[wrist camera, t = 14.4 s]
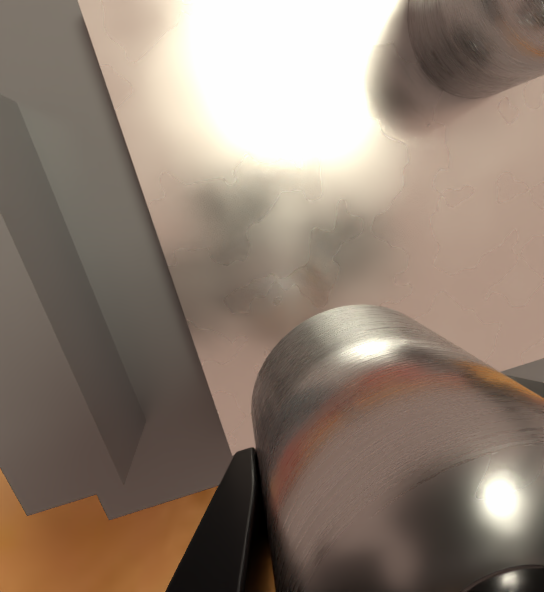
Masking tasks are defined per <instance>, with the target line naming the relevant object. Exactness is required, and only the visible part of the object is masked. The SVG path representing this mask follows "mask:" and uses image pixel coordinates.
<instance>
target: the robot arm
mask: <svg viewBox="0 0 544 592" xmlns="http://www.w3.org/2000/svg"><path fill="white" fill-rule="evenodd" d="M504 375H505V374H504ZM506 376H508V377H509V378H511V379H513V380H514V381H516V382H518V383H519V384H521V385H523V386H524V387H526V388H528V389H529V390H531V391H533V392H534V393H536V394H537V395H539V396H541V397H542V398H544V382H539V381H534V380H529V379H524V378H519V377H514V376H510V375H506ZM165 592H276V591H275V584H274V577H273V569H272V562H271V555H270V548H269V540H268V533H267V526H266V519H265V512H264V504H263V497H262V489H261V482H260V475H259V468H258V461H257V453H256V450H255V448H254V447H250V448H247V449H244V450H240V451H237V452H236V453H235V454H234V456H233V458H232V460H231V462H230V464H229V466H228V468H227V470H226V472H225V474H224V476H223V478H222V480H221V482H220V484H219V486H218V488H217V490H216V492H215V494H214V496H213V498H212V500H211V502H210V504H209V506H208V508H207V510H206V512H205V514H204V516H203V518H202V520H201V522H200V524H199V526H198V528H197V530H196V532H195V534H194V536H193V538H192V540H191V542H190V544H189V546H188V548H187V550H186V552H185V554H184V556H183V558H182V560H181V562H180V564H179V565H178V567H177V569H176V571H175V573H174V575H173V577H172V579H171V581H170V583H169V585H168V587H167V589H166V591H165Z"/></svg>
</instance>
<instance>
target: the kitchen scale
mask: <svg viewBox="0 0 544 592" xmlns="http://www.w3.org/2000/svg"><path fill="white" fill-rule="evenodd" d="M408 3H409V0H0V468H1V470H2V472H3V474H4V475H5V477H6V479H7V481H8V483H9V484H10V486H11V488H12V490H13V492H14V493H15V495H16V497H17V499H18V501H19V502H20V504H21V506H22V508H23V509H24V511H25V513H26V515H27V516H29V515H32V514H35V513H39V512H42V511H45V510H48V509H51V508H55V507H58V506H61V505H64V504H67V503H71V502H74V501H77V500H80V499H83V498H87V497H90V496H93V495H96V494H97V496H98V498H99V501H100V503H101V505H102V507H103V509H104V511H105V513H106V515H107V517H108V519H109V520H112V519H115V518H118V517H121V516H124V515H127V514H131V513H134V512H137V511H140V510H143V509H146V508H150V507H153V506H156V505H159V504H162V503H165V502H168V501H172V500H175V499H178V498H181V497H184V496H187V495H190V494H194V493H197V492H200V491H203V490H206V489H209V488H212V487H216V486H219V484H220V482H221V480H222V478H223V476H224V474H225V472H226V470H227V468H228V466H229V464H230V462H231V460H232V458H233V456H234V454H235V453H236V452H237V451H240V450H244V449H247V448H250V447H254V448H255V450H256V447H255V439H254V432H253V425H252V415H251V402H252V394H253V389H254V384H255V381H256V379H257V376H258V373H259V371H260V369H261V367H262V365H263V363H264V361H265V359H266V358H267V356H268V355H269V354H270V352H271V351H272V349H273V348H274V347H275V346H276V345H277V344H278V342H279V341H280V340H281V339H282V338H283V337H284V336H285V335H286V334H288V333H289V332H290V331H291V330H292V329H293V328H295V327H296V326H298V325H299V324H301V323H302V322H304V321H305V320H307V319H309V318H311V317H313V316H315V315H317V314H319V313H322V312H325V311H328V310H330V309H334V308H339V307H343V306H350V305H375V306H381V307H386V308H389V309H393V310H396V311H398V312H400V313H403V314H405V315H407V316H409V317H410V318H412V319H414V320H415V321H417V322H419V323H420V324H422V325H424V326H425V327H427V328H429V329H430V330H432V331H434V332H435V333H437V334H438V335H440V336H442V337H443V338H445V339H447V340H448V341H450V342H452V343H453V344H455V345H457V346H458V347H460V348H462V349H463V350H465V351H467V352H468V353H470V354H471V355H473V356H475V357H476V358H478V359H480V360H481V361H483V362H485V363H486V364H488V365H490V366H491V367H493V368H495V369H496V370H498V371H500V372H501V373H503V374H505V375H510V376H514V377H519V378H524V379H529V380H534V381H539V382H544V75H543V76H540V77H538V78H535V79H533V80H530V81H528V82H525V83H523V84H520V85H518V86H515V87H513V88H510V89H508V90H505V91H503V92H500V93H498V94H495V95H492V96H489V97H485V98H479V99H468V98H461V97H457V96H454V95H451V94H449V93H447V92H445V91H443V90H442V89H440V88H439V87H438V86H436V85H435V84H434V83H433V82H432V81H431V80H430V79H429V78H428V77H427V75H426V74H425V73H424V72H423V70H422V68H421V67H420V65H419V63H418V61H417V59H416V57H415V55H414V52H413V49H412V46H411V42H410V37H409V32H408V20H407V19H408Z"/></svg>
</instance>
